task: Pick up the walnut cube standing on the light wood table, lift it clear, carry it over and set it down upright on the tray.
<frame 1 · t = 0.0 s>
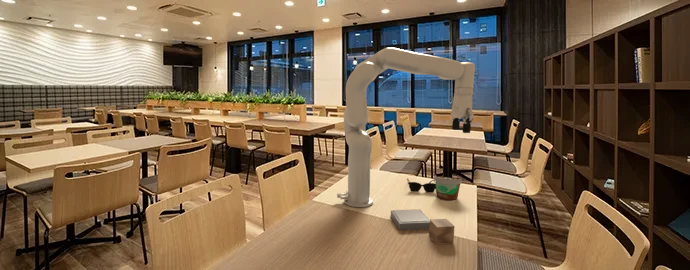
hand: (460, 131, 144), 31 cm above the table, tool pointing down, fingers open, 9 cm apart
sunglasses: (420, 188, 165), on the table
cube: (440, 239, 111), on the table
food container: (445, 199, 148), on the table
tray: (410, 222, 124), on the table
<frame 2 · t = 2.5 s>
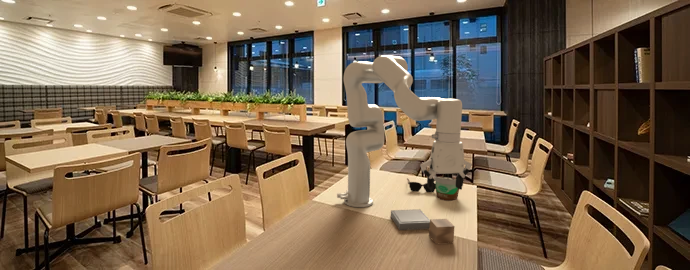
hand: (444, 188, 108), 18 cm above the table, tool pointing down, fingers open, 9 cm apart
nothing on the table moved.
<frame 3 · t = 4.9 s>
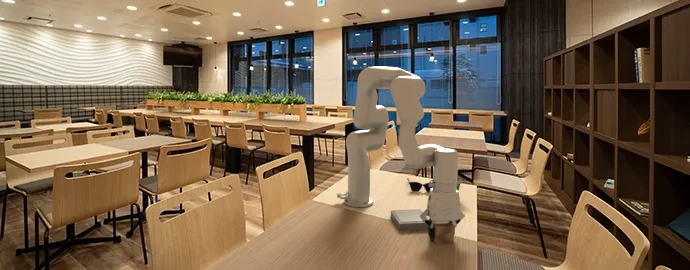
hand: (441, 236, 111), 1 cm above the table, tool pointing down, fingers closed on cube, 6 cm apart
cube: (440, 239, 111), on the table, touching gripper
everything else where it was.
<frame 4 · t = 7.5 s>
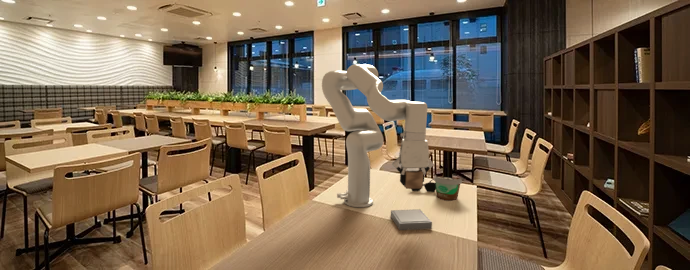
hand: (411, 183, 121), 15 cm above the table, tool pointing down, fingers closed on cube, 6 cm apart
cube: (411, 185, 121), point 14 cm above the table, touching gripper
everything else where it was.
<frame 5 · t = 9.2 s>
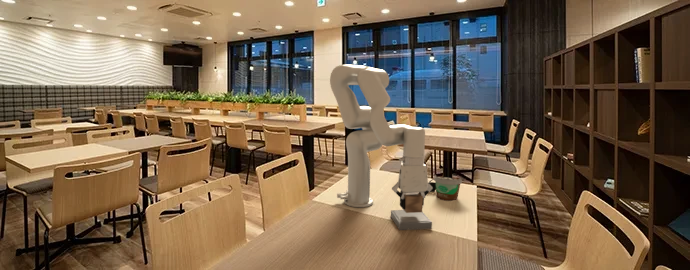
hand: (411, 207, 122), 6 cm above the table, tool pointing down, fingers closed on cube, 6 cm apart
cube: (411, 209, 123), point 5 cm above the table, touching gripper
when the fingers open (5 cm above the table, at t = 10.4 s): cube stays where it is, resting on tray.
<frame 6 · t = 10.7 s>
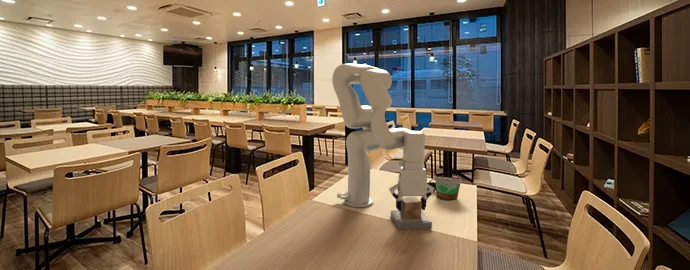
hand: (410, 209, 123), 5 cm above the table, tool pointing down, fingers open, 8 cm apart
cube: (410, 215, 123), point 3 cm above the table, touching tray
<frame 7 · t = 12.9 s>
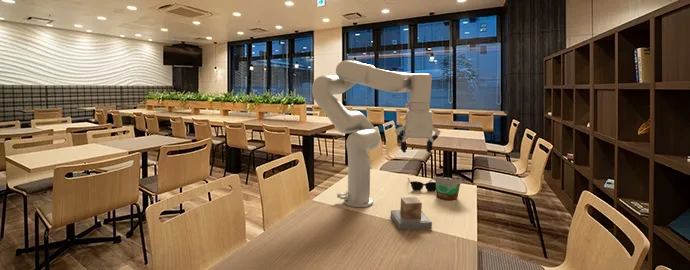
hand: (416, 151, 125), 26 cm above the table, tool pointing down, fingers open, 9 cm apart
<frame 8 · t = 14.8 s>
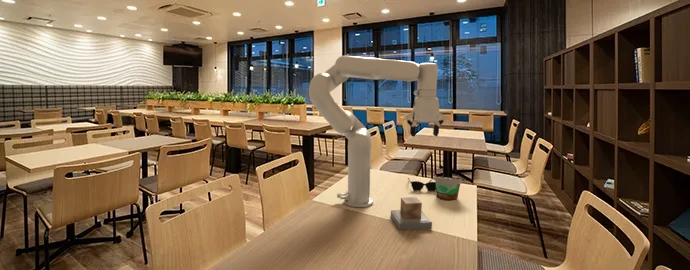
hand: (424, 135, 136), 30 cm above the table, tool pointing down, fingers open, 9 cm apart
at the end: cube inside the target area on the tray (0.1 cm from its centre), point 2.7 cm above the tray's base; cube tilted 0°; cube touching tray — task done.
